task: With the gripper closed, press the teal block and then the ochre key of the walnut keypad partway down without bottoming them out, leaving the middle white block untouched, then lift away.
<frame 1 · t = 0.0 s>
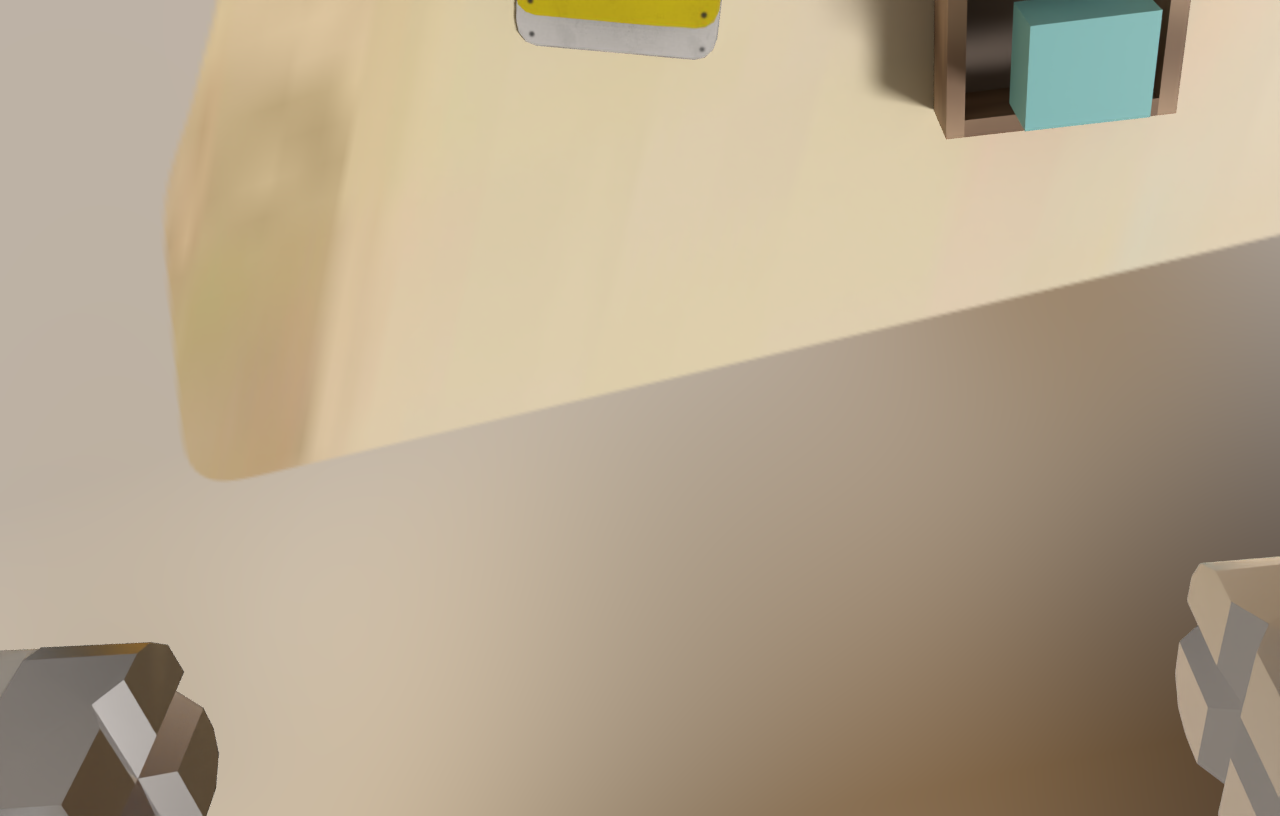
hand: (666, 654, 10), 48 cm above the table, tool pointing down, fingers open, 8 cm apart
teal block: (1078, 54, 49), point 5 cm above the table, slide at 0.0 cm
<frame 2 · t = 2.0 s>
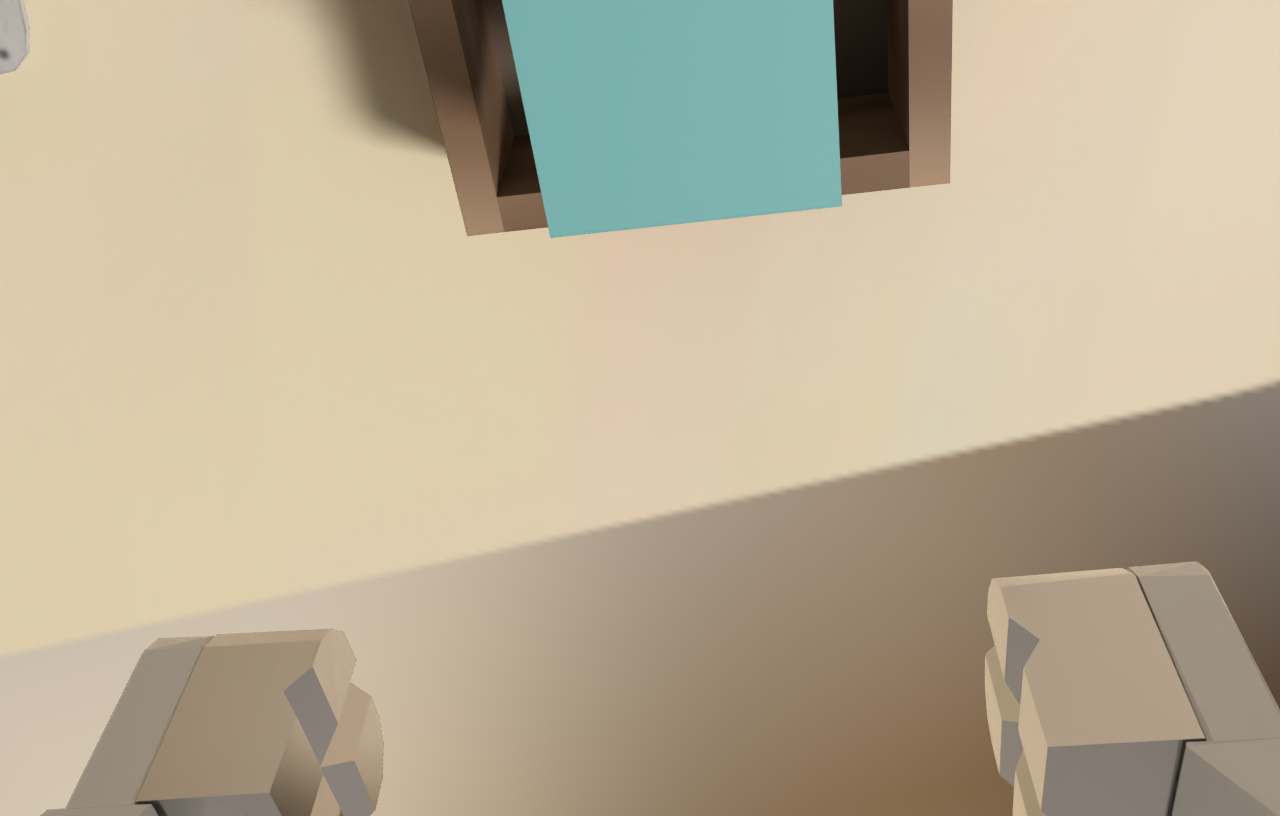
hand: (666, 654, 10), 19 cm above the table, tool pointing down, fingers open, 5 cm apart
teal block: (679, 55, 21), point 5 cm above the table, slide at 0.0 cm
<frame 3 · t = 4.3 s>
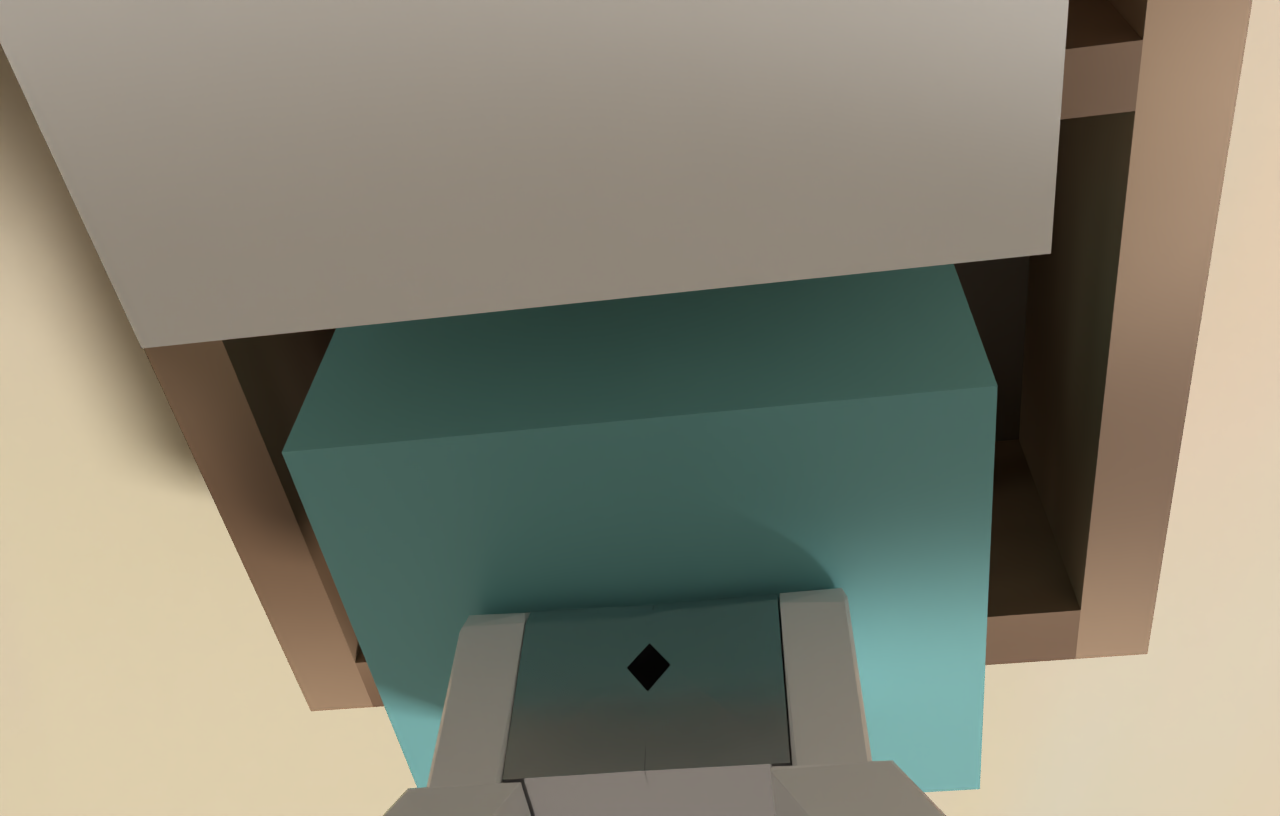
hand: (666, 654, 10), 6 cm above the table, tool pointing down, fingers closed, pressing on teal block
teal block: (670, 478, 11), point 4 cm above the table, slide at 1.1 cm, touching gripper
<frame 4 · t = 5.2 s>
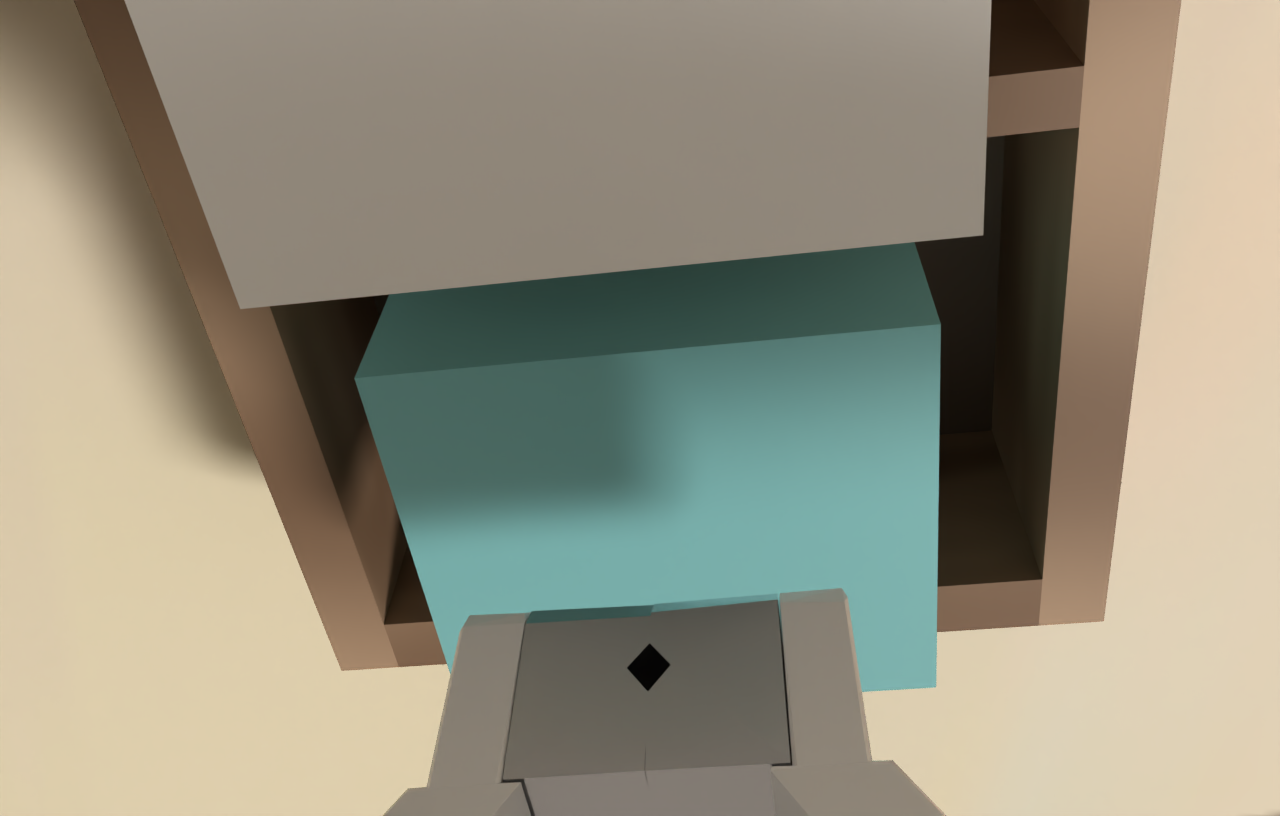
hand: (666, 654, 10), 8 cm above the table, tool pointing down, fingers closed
teal block: (673, 422, 13), point 4 cm above the table, slide at 1.5 cm
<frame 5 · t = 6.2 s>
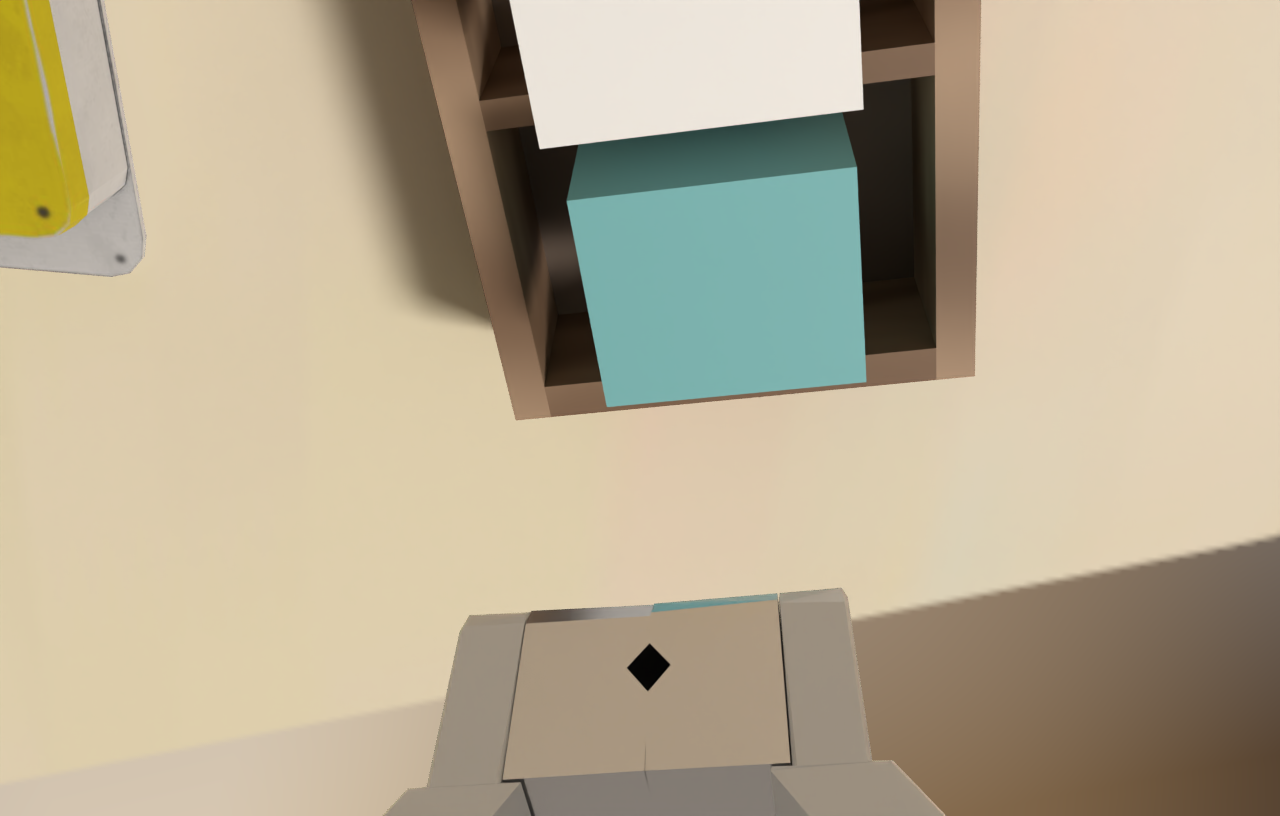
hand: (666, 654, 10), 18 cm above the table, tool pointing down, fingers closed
teal block: (721, 244, 23), point 4 cm above the table, slide at 1.5 cm
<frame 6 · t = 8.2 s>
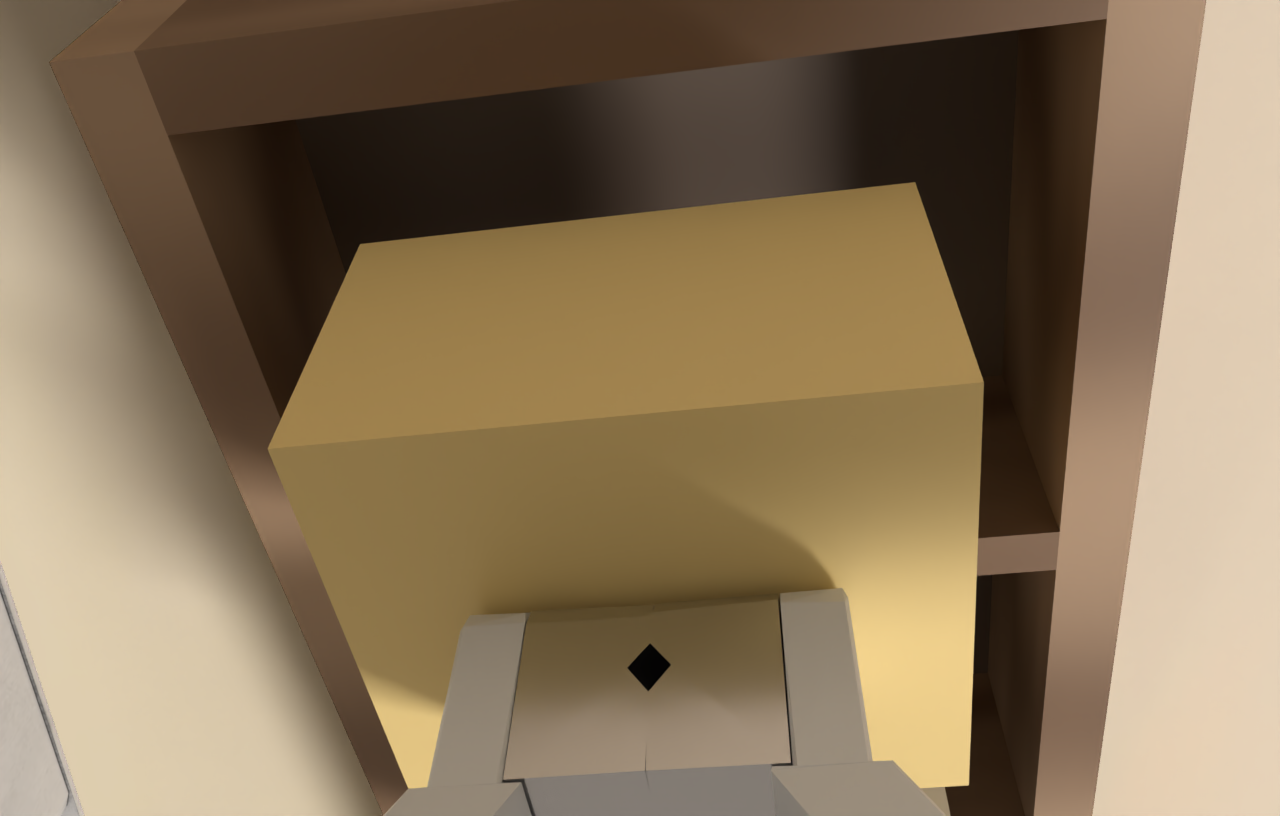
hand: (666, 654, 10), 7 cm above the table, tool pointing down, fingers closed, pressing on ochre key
ochre key: (660, 474, 11), point 5 cm above the table, slide at 0.4 cm, touching gripper
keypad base: (715, 561, 19), on the table
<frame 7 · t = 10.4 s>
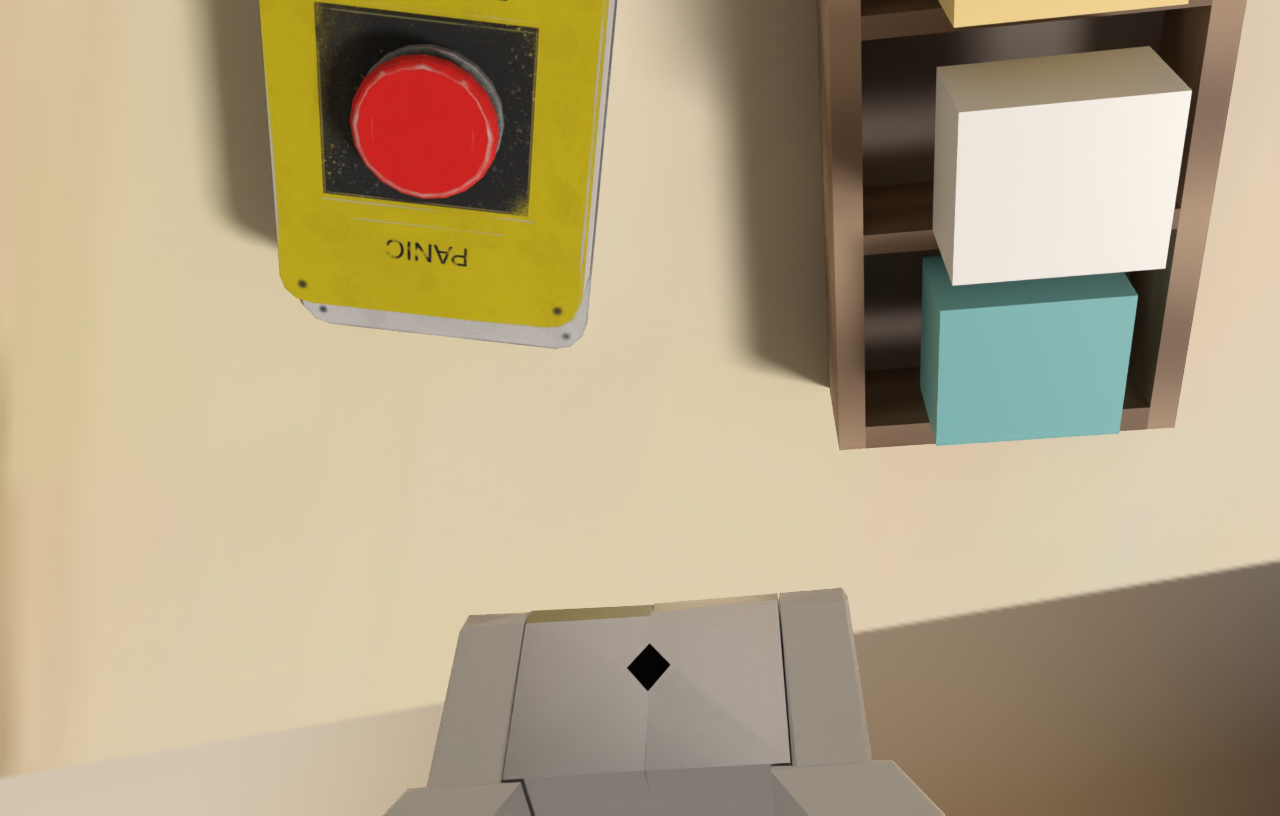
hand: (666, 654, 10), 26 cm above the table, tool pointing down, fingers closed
white block: (1045, 158, 29), point 5 cm above the table, slide at 0.0 cm
teal block: (1016, 335, 34), point 4 cm above the table, slide at 1.5 cm
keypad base: (999, 82, 34), on the table
emergency button: (451, 107, 35), on the table
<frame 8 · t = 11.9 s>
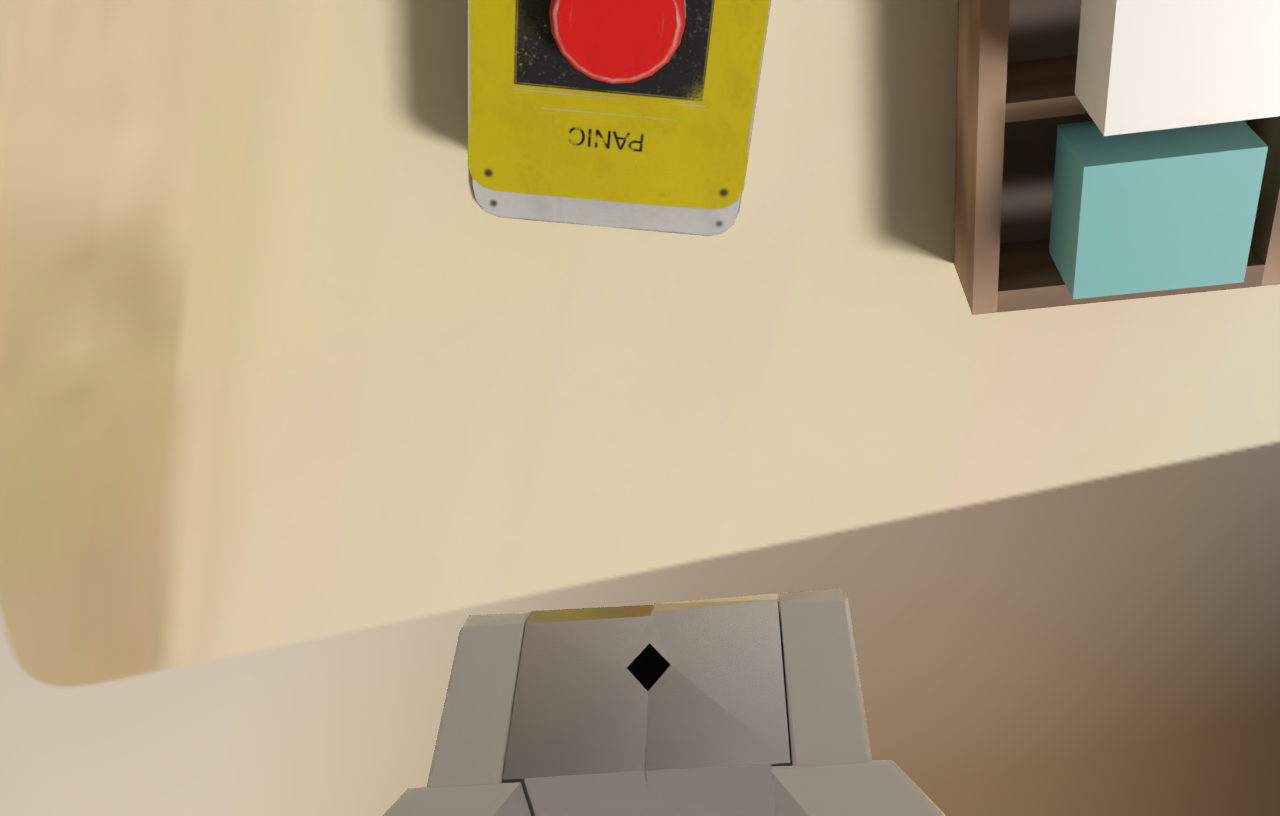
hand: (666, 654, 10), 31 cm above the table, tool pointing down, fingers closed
white block: (1186, 17, 32), point 5 cm above the table, slide at 0.0 cm
teal block: (1145, 195, 37), point 4 cm above the table, slide at 1.5 cm
emergency button: (620, 5, 38), on the table
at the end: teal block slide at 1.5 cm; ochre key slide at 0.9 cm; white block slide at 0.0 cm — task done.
